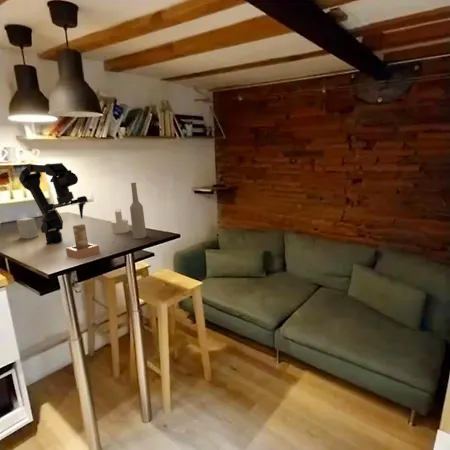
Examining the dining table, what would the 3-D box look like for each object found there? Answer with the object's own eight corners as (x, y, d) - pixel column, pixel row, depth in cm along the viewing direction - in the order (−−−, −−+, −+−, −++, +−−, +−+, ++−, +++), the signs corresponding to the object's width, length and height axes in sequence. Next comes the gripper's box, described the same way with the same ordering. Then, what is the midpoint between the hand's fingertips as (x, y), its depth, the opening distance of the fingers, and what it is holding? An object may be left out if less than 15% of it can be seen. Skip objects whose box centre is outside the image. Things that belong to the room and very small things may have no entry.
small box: (38, 236, 188) (35, 217, 185) (29, 239, 183) (25, 220, 180) (29, 235, 191) (25, 217, 189) (19, 238, 186) (15, 219, 184)
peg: (75, 255, 148) (70, 227, 145) (81, 252, 153) (76, 224, 150) (86, 255, 148) (81, 227, 144) (91, 252, 152) (87, 224, 149)
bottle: (139, 234, 178) (133, 182, 172) (149, 235, 175) (143, 182, 168) (130, 238, 173) (123, 183, 166) (140, 239, 169) (133, 183, 163)
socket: (79, 259, 143) (77, 251, 142) (66, 255, 149) (65, 248, 148) (99, 252, 151) (98, 245, 150) (87, 249, 157) (86, 242, 156)
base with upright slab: (129, 232, 185) (126, 211, 182) (112, 234, 182) (109, 212, 180) (128, 228, 193) (126, 208, 190) (112, 230, 191) (109, 210, 188)
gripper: (36, 192, 148) (47, 227, 149) (81, 183, 153) (91, 216, 155) (41, 194, 158) (52, 226, 160) (83, 185, 164) (92, 216, 165)
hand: (71, 221), depth 160 cm, fingers open, 9 cm apart
